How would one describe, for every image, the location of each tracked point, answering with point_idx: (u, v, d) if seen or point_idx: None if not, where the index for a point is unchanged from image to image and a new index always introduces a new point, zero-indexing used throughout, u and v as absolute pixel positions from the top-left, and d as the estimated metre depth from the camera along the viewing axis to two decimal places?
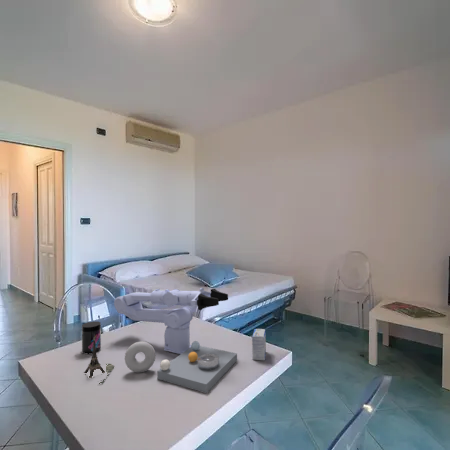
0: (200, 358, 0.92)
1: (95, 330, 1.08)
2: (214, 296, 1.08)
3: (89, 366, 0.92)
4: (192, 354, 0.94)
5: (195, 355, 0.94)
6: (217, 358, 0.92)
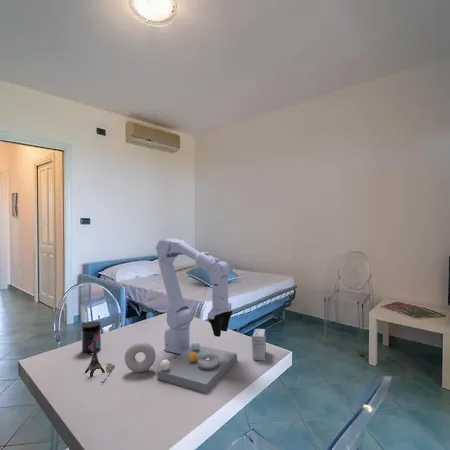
0: (200, 358, 0.92)
1: (95, 330, 1.08)
2: (224, 315, 1.03)
3: (89, 366, 0.92)
4: (192, 354, 0.94)
5: (195, 355, 0.94)
6: (217, 358, 0.92)
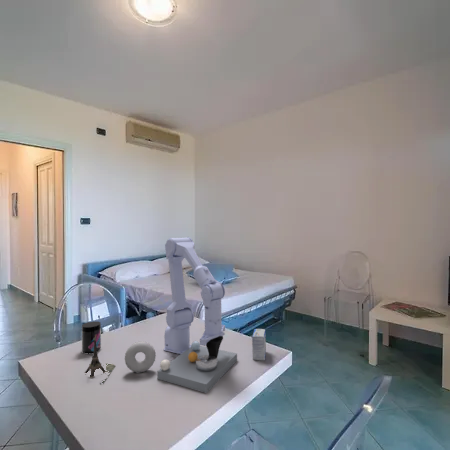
0: (198, 359, 0.91)
1: (95, 330, 1.08)
2: None
3: (90, 366, 0.92)
4: (192, 354, 0.94)
5: (195, 355, 0.94)
6: (215, 359, 0.91)
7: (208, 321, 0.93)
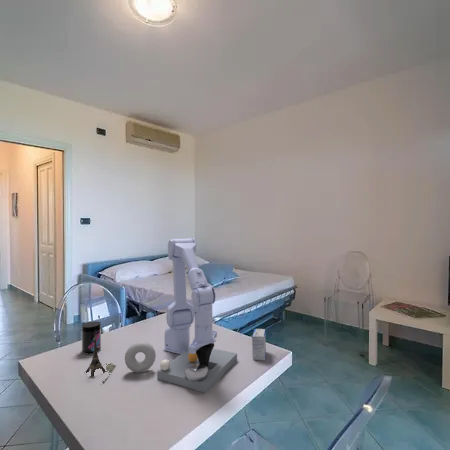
0: (187, 368, 0.86)
1: (95, 330, 1.08)
2: None
3: (90, 366, 0.93)
4: (192, 354, 0.94)
5: (195, 355, 0.94)
6: (206, 368, 0.86)
7: (198, 327, 0.87)
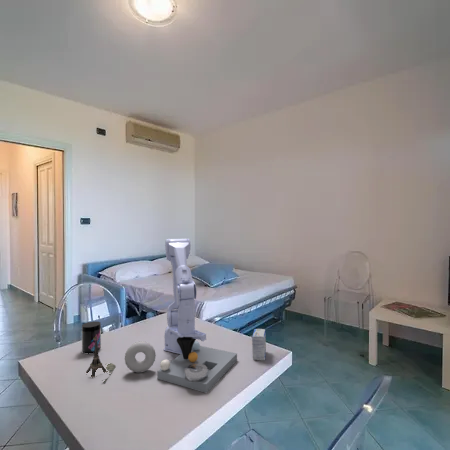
0: (187, 368, 0.86)
1: (95, 330, 1.08)
2: None
3: (91, 366, 0.93)
4: (192, 354, 0.94)
5: (195, 355, 0.94)
6: (205, 368, 0.85)
7: None
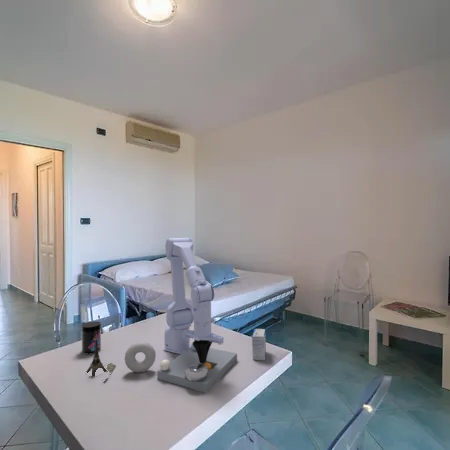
0: (187, 368, 0.86)
1: (95, 330, 1.08)
2: None
3: (91, 365, 0.93)
4: None
5: None
6: (205, 368, 0.85)
7: None
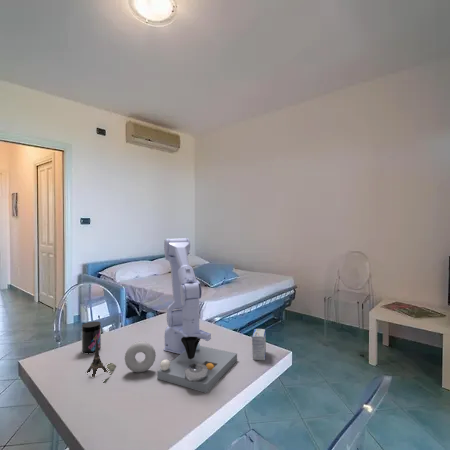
0: (187, 368, 0.86)
1: (95, 330, 1.08)
2: None
3: (91, 365, 0.93)
4: None
5: (206, 364, 0.92)
6: (205, 368, 0.85)
7: None
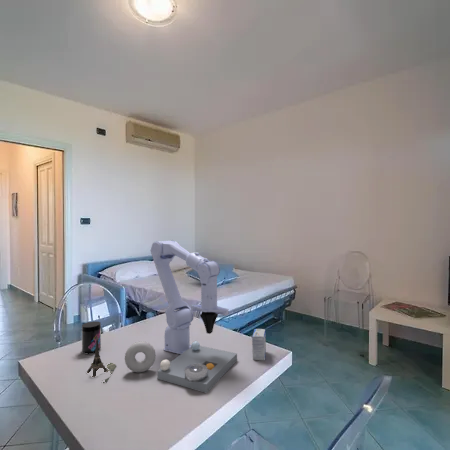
0: (187, 368, 0.86)
1: (95, 330, 1.08)
2: None
3: (92, 365, 0.93)
4: None
5: (207, 364, 0.92)
6: (205, 368, 0.85)
7: None
